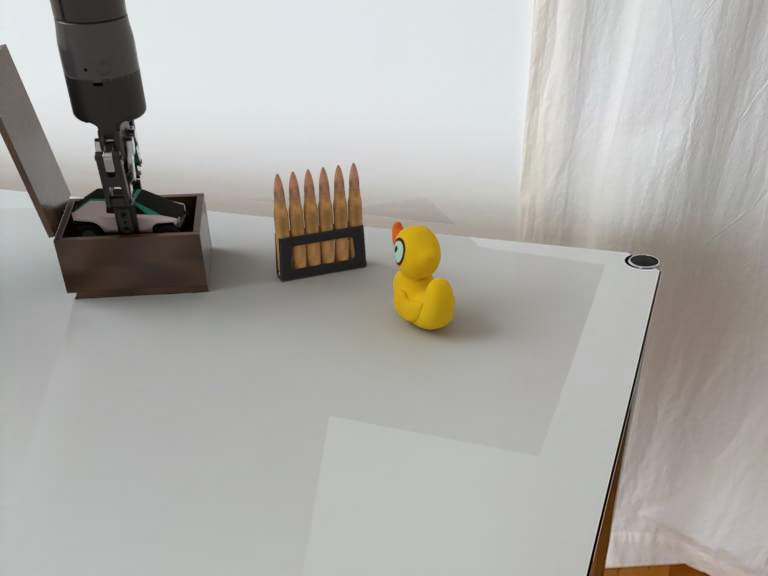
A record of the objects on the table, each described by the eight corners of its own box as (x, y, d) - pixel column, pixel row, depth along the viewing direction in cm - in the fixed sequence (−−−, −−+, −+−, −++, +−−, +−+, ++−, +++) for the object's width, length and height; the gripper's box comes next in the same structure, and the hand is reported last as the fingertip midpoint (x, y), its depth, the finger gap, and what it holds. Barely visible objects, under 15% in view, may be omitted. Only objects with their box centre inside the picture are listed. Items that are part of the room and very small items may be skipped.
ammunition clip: (280, 281, 105) (271, 178, 97) (276, 275, 106) (266, 172, 98) (366, 266, 108) (364, 164, 100) (361, 260, 109) (358, 158, 101)
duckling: (374, 302, 101) (372, 215, 95) (416, 292, 103) (417, 206, 96) (421, 349, 94) (423, 258, 87) (465, 337, 96) (471, 247, 89)
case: (211, 247, 111) (203, 192, 107) (208, 291, 103) (199, 234, 98) (82, 253, 110) (69, 198, 105) (68, 298, 101) (52, 241, 97)
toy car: (92, 227, 106) (81, 182, 102) (193, 229, 106) (186, 184, 102) (77, 249, 102) (65, 203, 98) (182, 251, 101) (174, 205, 98)
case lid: (6, 43, 94) (-1, 45, 94) (-19, 76, 85) (-26, 78, 86) (71, 194, 105) (65, 195, 105) (55, 236, 97) (48, 238, 97)
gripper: (73, 47, 96) (107, 201, 107) (51, 88, 86) (91, 254, 97) (144, 45, 97) (171, 199, 108) (131, 85, 86) (162, 251, 98)
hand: (133, 224), depth 102 cm, fingers closed on toy car, 6 cm apart
